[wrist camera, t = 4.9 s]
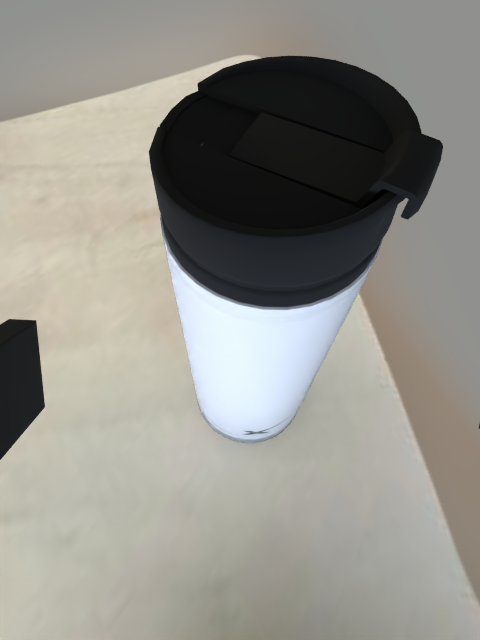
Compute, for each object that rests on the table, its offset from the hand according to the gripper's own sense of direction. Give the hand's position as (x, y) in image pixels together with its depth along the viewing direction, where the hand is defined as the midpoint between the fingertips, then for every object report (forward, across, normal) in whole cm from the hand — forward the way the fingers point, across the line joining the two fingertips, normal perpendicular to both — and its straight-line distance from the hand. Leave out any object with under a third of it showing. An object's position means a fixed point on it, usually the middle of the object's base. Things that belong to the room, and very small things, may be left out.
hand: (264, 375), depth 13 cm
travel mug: (+13, 0, -8) cm, 15 cm away
